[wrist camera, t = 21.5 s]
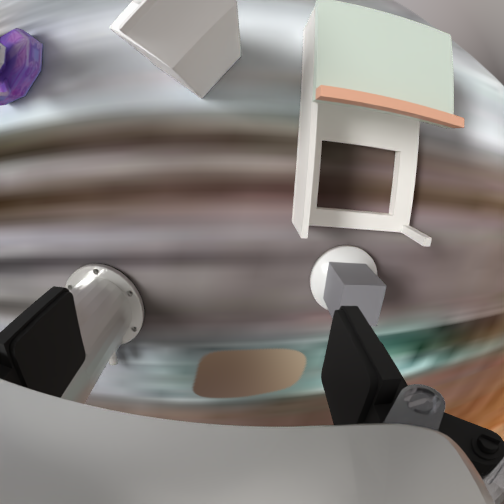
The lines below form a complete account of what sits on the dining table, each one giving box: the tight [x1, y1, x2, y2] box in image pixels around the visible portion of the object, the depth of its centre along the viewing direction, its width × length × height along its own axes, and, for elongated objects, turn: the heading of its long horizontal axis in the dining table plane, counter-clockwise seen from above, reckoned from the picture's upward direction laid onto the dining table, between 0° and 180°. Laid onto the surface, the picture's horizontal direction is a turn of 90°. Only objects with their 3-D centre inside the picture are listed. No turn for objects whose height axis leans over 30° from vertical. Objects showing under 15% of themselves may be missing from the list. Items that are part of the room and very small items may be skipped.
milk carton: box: [109, 0, 241, 99], centre depth 23 cm, size 7×7×19 cm
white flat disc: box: [310, 245, 377, 310], centre depth 40 cm, size 9×9×1 cm
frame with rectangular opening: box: [292, 7, 432, 246], centre depth 31 cm, size 24×15×7 cm, turn 177°
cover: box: [312, 0, 464, 128], centre depth 24 cm, size 11×15×3 cm
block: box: [323, 262, 386, 326], centre depth 36 cm, size 5×5×7 cm
